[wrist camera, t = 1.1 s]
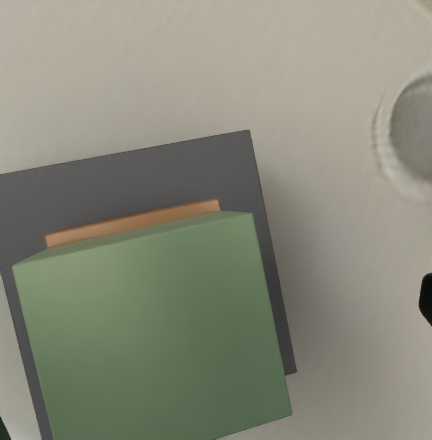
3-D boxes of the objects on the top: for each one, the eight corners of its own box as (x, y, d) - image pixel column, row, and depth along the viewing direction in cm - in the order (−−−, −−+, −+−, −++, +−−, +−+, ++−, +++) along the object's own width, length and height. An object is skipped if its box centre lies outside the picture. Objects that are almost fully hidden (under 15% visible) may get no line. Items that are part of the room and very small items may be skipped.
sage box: (252, 361, 15) (293, 415, 11) (84, 409, 14) (64, 488, 10) (221, 210, 15) (253, 211, 11) (46, 248, 14) (10, 265, 10)
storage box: (271, 345, 24) (297, 372, 20) (59, 405, 22) (43, 448, 18) (230, 141, 23) (249, 129, 19) (6, 183, 21) (-24, 178, 17)
